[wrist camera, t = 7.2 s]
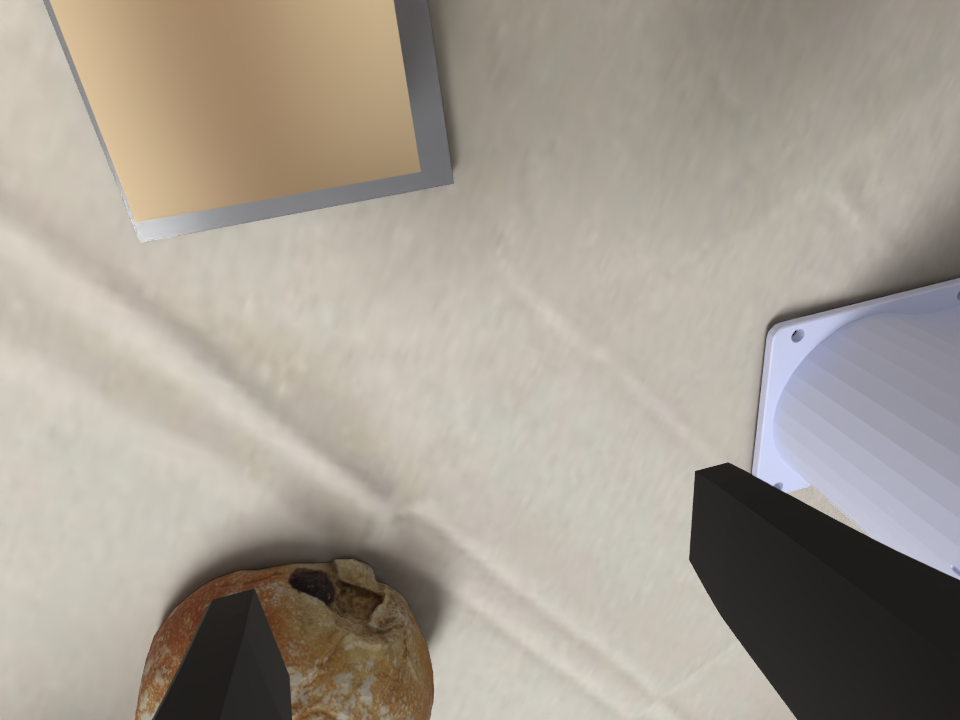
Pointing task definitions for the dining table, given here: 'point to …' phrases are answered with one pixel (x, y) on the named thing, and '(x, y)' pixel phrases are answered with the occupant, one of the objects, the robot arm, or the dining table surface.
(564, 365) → the dining table surface
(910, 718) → the robot arm
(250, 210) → the slate coaster
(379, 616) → the bread roll
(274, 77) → the oak block
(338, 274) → the dining table surface
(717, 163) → the dining table surface
